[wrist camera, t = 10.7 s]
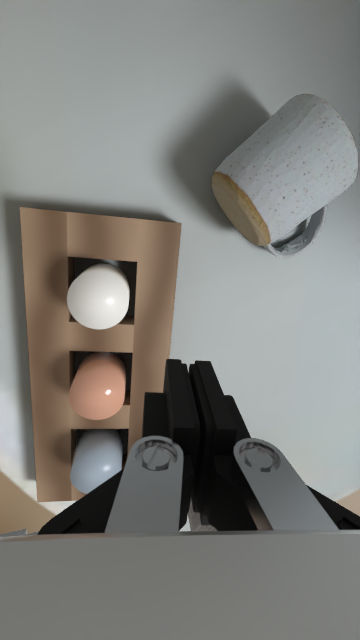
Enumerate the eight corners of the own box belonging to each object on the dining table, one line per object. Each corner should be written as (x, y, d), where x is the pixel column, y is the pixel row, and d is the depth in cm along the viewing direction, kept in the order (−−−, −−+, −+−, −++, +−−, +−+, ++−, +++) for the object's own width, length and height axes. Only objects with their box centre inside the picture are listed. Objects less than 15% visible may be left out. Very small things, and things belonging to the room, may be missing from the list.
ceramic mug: (195, 181, 26) (220, 168, 18) (272, 112, 25) (329, 70, 18) (263, 275, 29) (306, 294, 22) (332, 217, 28) (400, 218, 21)
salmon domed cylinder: (127, 352, 28) (125, 373, 24) (125, 394, 29) (123, 419, 26) (77, 350, 27) (68, 371, 24) (77, 393, 29) (69, 420, 25)
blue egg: (123, 425, 30) (122, 454, 27) (122, 461, 32) (120, 493, 28) (78, 426, 30) (69, 455, 26) (78, 462, 31) (70, 495, 27)
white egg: (131, 265, 26) (130, 273, 22) (128, 315, 27) (127, 330, 23) (76, 261, 25) (66, 268, 21) (77, 312, 26) (67, 328, 22)
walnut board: (177, 222, 26) (181, 223, 24) (155, 478, 35) (156, 496, 32) (30, 208, 24) (19, 207, 22) (44, 481, 33) (37, 502, 31)
